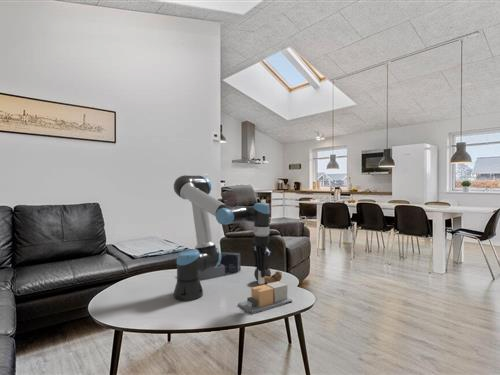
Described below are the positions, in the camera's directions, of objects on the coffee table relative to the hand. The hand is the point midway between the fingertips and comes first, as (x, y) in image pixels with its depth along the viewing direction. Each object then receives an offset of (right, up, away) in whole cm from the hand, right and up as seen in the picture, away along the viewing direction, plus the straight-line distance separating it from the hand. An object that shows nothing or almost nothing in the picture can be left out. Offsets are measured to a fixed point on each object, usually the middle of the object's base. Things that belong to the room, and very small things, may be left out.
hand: (261, 283), depth 143 cm
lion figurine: (+6, -11, +24) cm, 27 cm away
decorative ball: (+2, -10, +33) cm, 35 cm away
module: (+1, -9, 0) cm, 9 cm away
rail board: (+2, -10, +1) cm, 11 cm away
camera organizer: (-35, -11, +48) cm, 61 cm away
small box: (-19, -11, +58) cm, 62 cm away
